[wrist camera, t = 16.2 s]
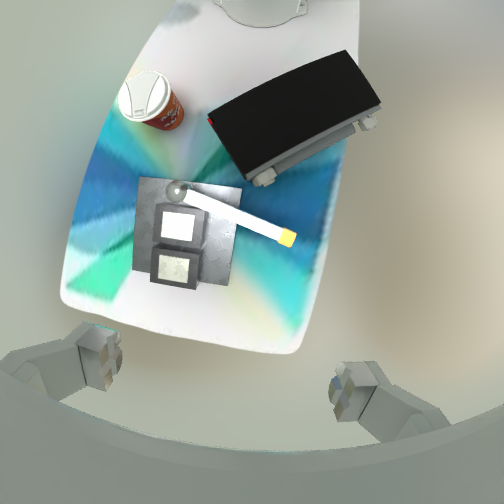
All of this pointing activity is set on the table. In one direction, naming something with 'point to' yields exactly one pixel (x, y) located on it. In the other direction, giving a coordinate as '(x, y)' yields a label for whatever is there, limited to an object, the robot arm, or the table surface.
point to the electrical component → (295, 116)
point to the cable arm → (228, 212)
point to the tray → (183, 235)
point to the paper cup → (150, 101)
